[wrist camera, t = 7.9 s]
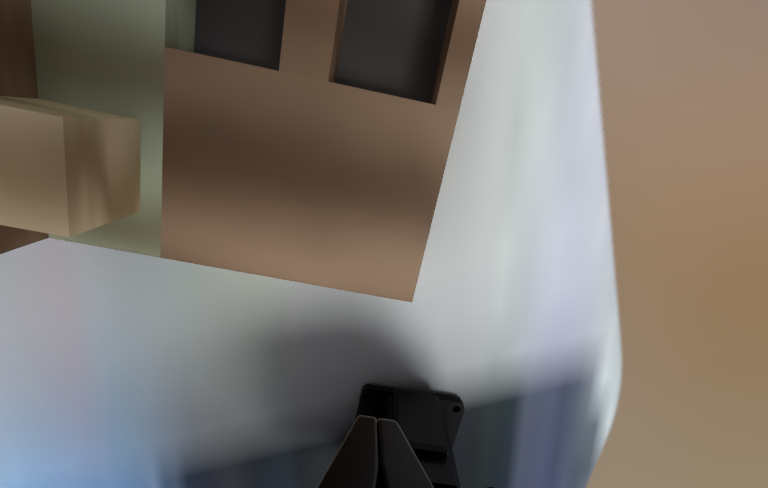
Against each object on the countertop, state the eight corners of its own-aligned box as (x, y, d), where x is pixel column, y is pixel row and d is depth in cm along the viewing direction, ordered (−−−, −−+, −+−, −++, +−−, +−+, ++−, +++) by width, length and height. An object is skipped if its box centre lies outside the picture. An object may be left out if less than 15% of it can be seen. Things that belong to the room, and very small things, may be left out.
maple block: (140, 211, 17) (69, 237, 13) (47, 194, 16) (-54, 215, 13) (140, 119, 16) (62, 117, 12) (40, 98, 15) (-73, 90, 11)
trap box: (407, 278, 21) (417, 335, 15) (76, 217, 20) (-47, 255, 14) (480, -29, 17) (532, -109, 11) (59, -131, 15) (-131, -281, 10)
